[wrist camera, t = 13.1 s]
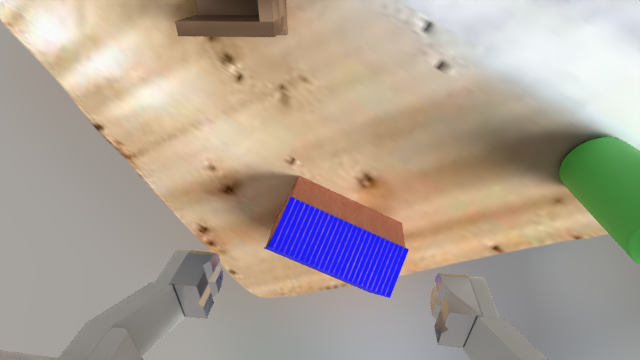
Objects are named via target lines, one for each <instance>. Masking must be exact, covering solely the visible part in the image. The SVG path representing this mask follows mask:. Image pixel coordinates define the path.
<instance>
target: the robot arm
mask: <svg viewBox="0 0 640 360" xmlns="http://www.w3.org/2000/svg"><path fill="white" fill-rule="evenodd" d="M219 261H220V259H219V255H218V254H217V253H210V252H200V251H193V250H182V249H179V250H177V251H176V252H175V253H174V254H173V256H172V257H171V259H170V260H169V262H168V263H167V265H166V267H165V268H164V269H163V271H162V272H161V274H160V275H159V277H158V278H157V280H156V281H155V283H149V284H148V285H146V286H144V287H143V288H141V289H139V290H138V291H136V292H135V293H133V294H131V295H130V296H128V297H127V298H125V299H123V300H122V301H120V302H119V303H117V304H115V305H114V306H112V307H111V308H109V309H107V310H106V311H104V312H103V313H101V314H99V315H98V316H96V317H94V318H93V319H91V320H90V321H88V322H87V323H85V325H84V326H83V327H82V329H81V330H80V331H79V332H78V334H77V335H76V336H75V337H74V339H73V340H72V341H71V343H70V344H69V345H68V346H67V348H66V349H65V350H64V351H63V353H62V354H61V355H60V357H59V358H55V357H48V356H40V355H33V354H25V353H17V352H9V351H3V350H0V360H143V358H142V356H143V355H144V354H145V353H146V352H147V351H148V350H149V349H150V348H152V347H153V346H154V345H155V344H156V343H157V342H158V341H159V340H161V339H162V338H163V337H164V336H165V335H166V334H167V333H168V332H169V331H171V330H172V329H173V328H174V327H175V326H176V325H177V324H179V323H180V322H181V321H182V320H183V319H184V318H185V317H195V318H207V317H208V315H209V312H210V310H211V308H212V306H213V304H214V301H213V298H212V297H213V296H215V295H216V294H217V293H218V292H219V290H220V288H221V285H222V280H223V271H222V268H221V267H220V266H219V265H218V263H219ZM435 282H436V287H434V288H433V290H432V294H431V310H432V315H433V316H434V317H435V318H436V323H435V332H436V337H437V342H438V345H444V346H452V347H459V348H464V349H463V350H464V351H465V353H466V354H467V355H468V356H469V358H470V359H471V360H547V359H546V358H545V357H544V356H543V355H542V354H541V353H540V352H539V351H538V350H537V349H536V348H534V346H532V345H531V344H530V343H529V342H528V341H527V340H526V339H525V338H524V337H523V336H522V335H521V334H520V333H518V332H517V331H516V330H515V329H514V328H513V327H512V326H511V325H510V324H509V323H508V322H507V321H506V320H505V319H500V318H499V316H498V313H497V310H496V308H495V305H494V303H493V300H492V297H491V295H490V292H489V289H488V286H487V284H486V281H485V279H484V278H483V277H474V276H465V275H453V274H440V273H438V275H437V276H436V279H435Z"/></svg>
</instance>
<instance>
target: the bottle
mask: <svg viewBox="0 0 640 360" xmlns="http://www.w3.org/2000/svg"><path fill="white" fill-rule="evenodd" d="M559 175H560V180H561V182H562V183H563V184H564V185H565V186H566V187H567V188H568V189H569V191H570V192H571V193H572V194H573V195H574V196H575V197H576V198H577V199H578V200H579V202H580V203H581V204H582V205H583V206H584V207H585V208H586V209H587V210H588V211H589V213H590V214H591V215H592V216H593V217H594V218H595V219H596V220H597V221H598V222H599V223H600V225H601V226H602V227H603V228H604V229H605V230H606V231H607V232H608V233H609V234H610V235H611V236H612V238H613V239H614V240H615V241H616V242H617V243H618V244H619V245H620V246H621V247H622V248H623V249H624V250H625V251H626V253H627V254H628V255H629V256H630V257H631V258H632V259H633V260H634V261H635V262H636V263H639V264H640V151H639V150H637V149H636V148H634V147H633V146H631V145H630V144H628V143H627V142H624V141H622V140H620V139H618V138H612V137H602V138H597V139H592V140H589V141H587V142H585V143H583V144H581V145H579V146H577V147H576V148H575V149H574V150H572V151H571V152H570V153H568V155H567V156H566V157H565V159H564V160H563V162H562V163H561V166H560V170H559Z"/></svg>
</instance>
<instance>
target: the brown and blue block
mask: <svg viewBox="0 0 640 360" xmlns="http://www.w3.org/2000/svg"><path fill="white" fill-rule="evenodd" d="M264 248H265V249H267V250H270V251H272V252H275V253H277V254H279V255H282V256H284V257H287V258H289V259H291V260H294V261H296V262H298V263H301V264H303V265H306V266H308V267H310V268H313V269H315V270H318V271H320V272H322V273H325V274H327V275H329V276H332V277H334V278H337V279H339V280H341V281H344V282H346V283H349V284H351V285H353V286H356V287H358V288H360V289H363V290H365V291H368V292H370V293H374V294H378V295H381V296H385V297H389V298H390V296H391V293H392V291H393V288H394V286H395V283H396V281H397V278H398V276H399V273H400V270H401V268H402V265H403V263H404V260H405V258H406V255H407V252H408V250H409V249H406V248H405V242H404V235H403V228H402V223H401V222H398V221H396V220H394V219H392V218H390V217H388V216H385V215H383V214H381V213H379V212H377V211H375V210H372V209H370V208H368V207H366V206H364V205H362V204H359V203H357V202H355V201H353V200H351V199H349V198H346V197H344V196H342V195H340V194H338V193H336V192H333V191H331V190H329V189H327V188H325V187H322V186H320V185H318V184H316V183H314V182H312V181H309V180H307V179H305V178H303V177H301V176H299V178H298V179H297V181H296V183H295V185H294V187H293V189H292V191H291V193H290V194H289V196H288V198H287V200H286V202H285V204H284V206H283V208H282V210H281V211H280V213H279V215H278V217H277V219H276V221H275V223H274V226H273V229H272V231H271V234H270V237H269V240H268V243H267V245H266V247H264Z"/></svg>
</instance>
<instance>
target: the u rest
mask: <svg viewBox="0 0 640 360" xmlns="http://www.w3.org/2000/svg"><path fill="white" fill-rule="evenodd" d="M196 5H197V10H198V15H196V16H193V17H189V18H185V19H182V20H178V21H175V23H176V28H177V32H178V36H221V37H275V36H277V35H287V34H288V28H287V11H286V0H196Z"/></svg>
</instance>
